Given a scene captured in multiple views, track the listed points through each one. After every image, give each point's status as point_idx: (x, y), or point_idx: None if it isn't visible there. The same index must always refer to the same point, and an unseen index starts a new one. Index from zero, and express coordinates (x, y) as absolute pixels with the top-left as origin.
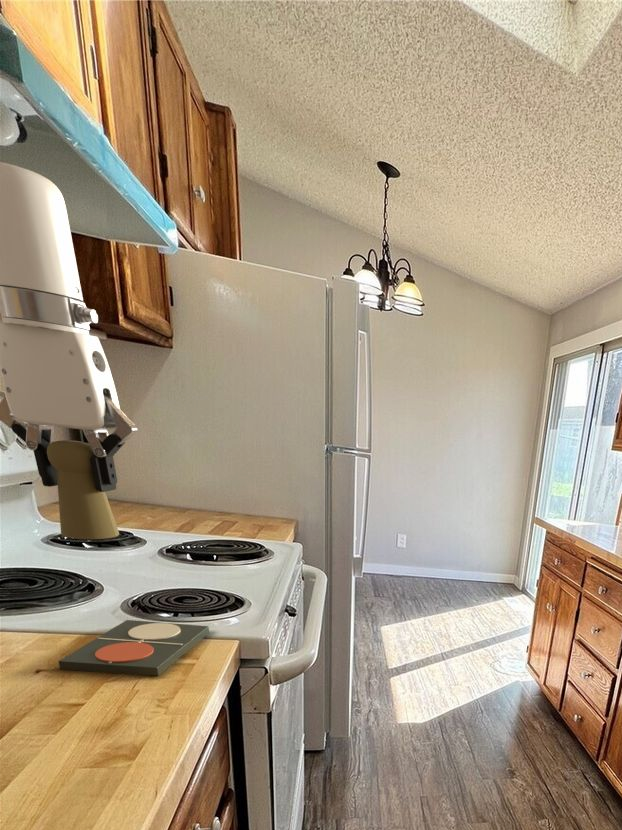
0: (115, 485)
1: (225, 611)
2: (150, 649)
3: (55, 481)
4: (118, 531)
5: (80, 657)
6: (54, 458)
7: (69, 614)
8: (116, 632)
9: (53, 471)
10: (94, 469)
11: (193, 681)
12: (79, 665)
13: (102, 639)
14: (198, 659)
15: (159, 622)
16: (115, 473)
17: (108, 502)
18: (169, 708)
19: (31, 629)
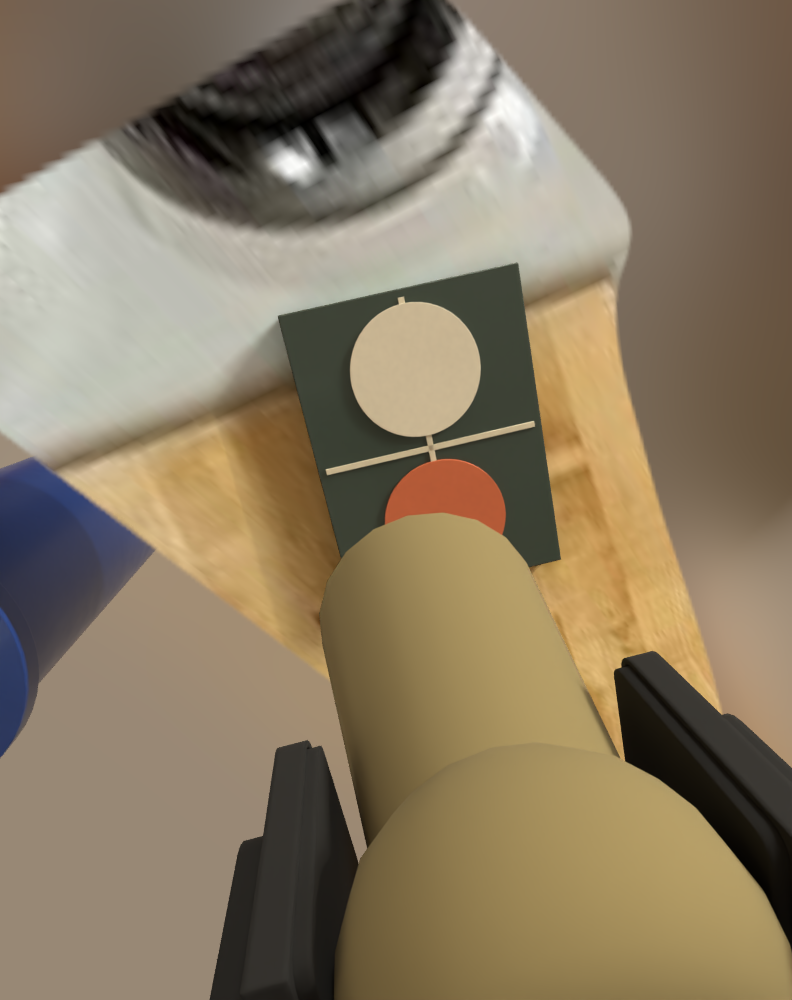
0: (660, 662)
1: (442, 30)
2: (490, 487)
3: (347, 842)
4: (509, 543)
5: None
6: None
7: (43, 291)
8: (330, 417)
9: (344, 901)
10: None
11: (631, 545)
12: None
13: (338, 472)
14: (580, 441)
15: (373, 295)
16: (771, 755)
17: (551, 627)
18: (648, 651)
19: (78, 438)
